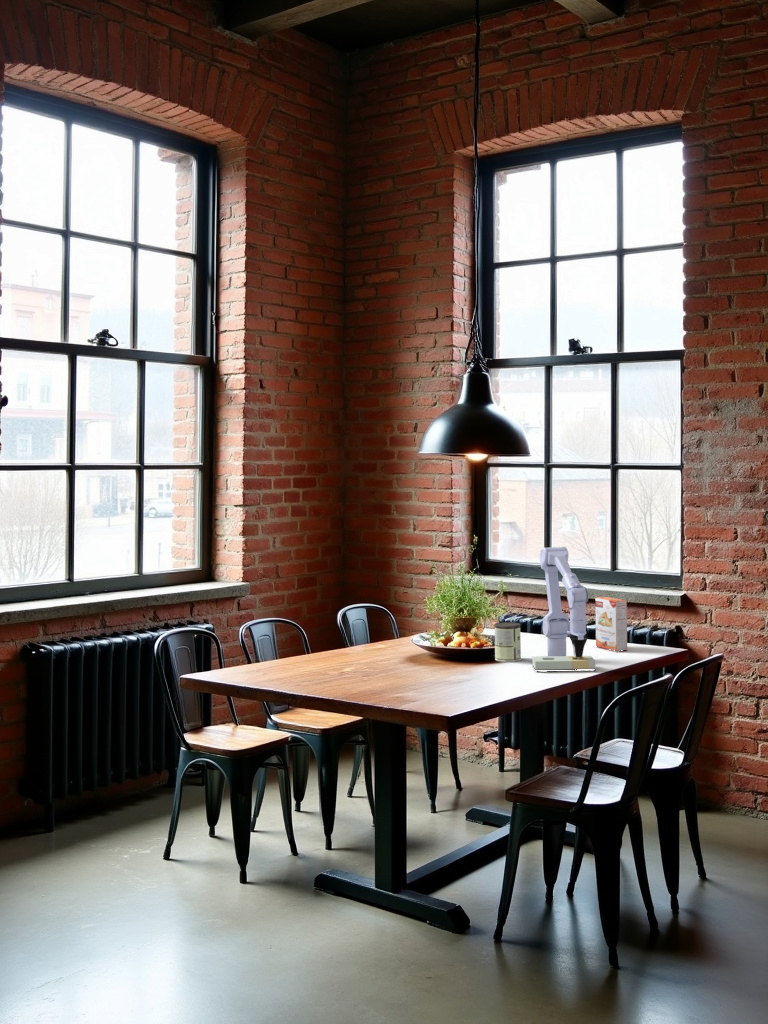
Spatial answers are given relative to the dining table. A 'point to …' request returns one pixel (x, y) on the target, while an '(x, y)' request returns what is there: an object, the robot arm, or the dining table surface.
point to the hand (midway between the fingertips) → (578, 655)
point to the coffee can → (507, 642)
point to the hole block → (563, 663)
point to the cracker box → (611, 623)
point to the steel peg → (575, 654)
